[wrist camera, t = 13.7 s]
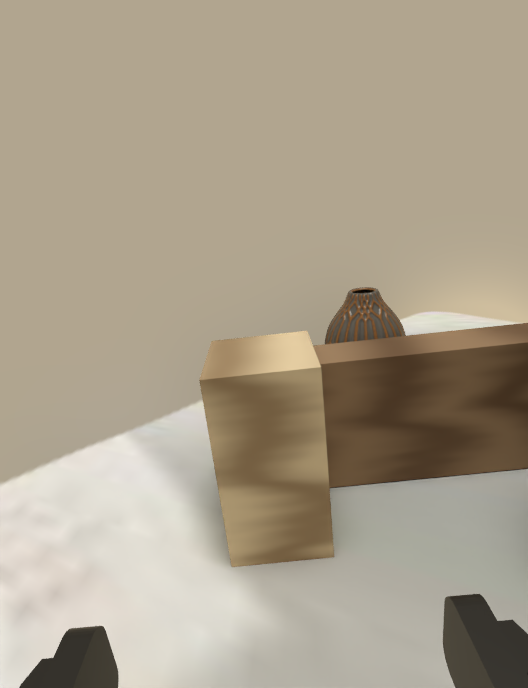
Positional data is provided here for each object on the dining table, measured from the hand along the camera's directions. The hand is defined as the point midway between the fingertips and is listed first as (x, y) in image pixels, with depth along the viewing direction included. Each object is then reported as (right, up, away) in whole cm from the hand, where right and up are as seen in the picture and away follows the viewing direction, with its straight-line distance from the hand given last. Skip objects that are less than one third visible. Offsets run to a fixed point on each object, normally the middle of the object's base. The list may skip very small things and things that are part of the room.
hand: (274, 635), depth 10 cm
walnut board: (+8, -1, +17) cm, 18 cm away
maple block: (+1, -3, +13) cm, 13 cm away
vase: (+9, +3, +27) cm, 29 cm away
